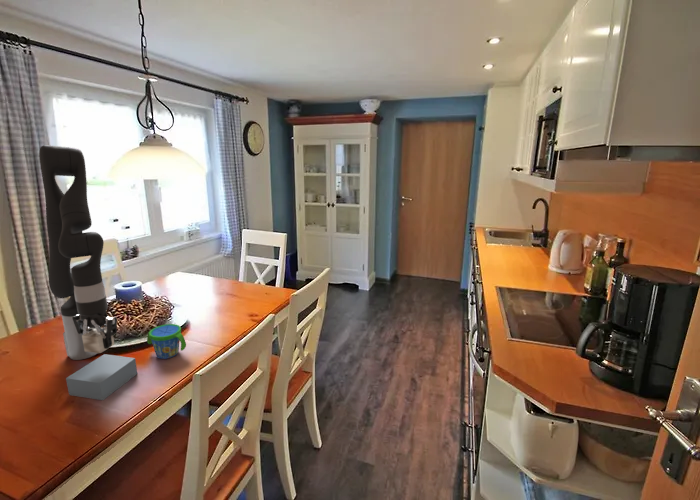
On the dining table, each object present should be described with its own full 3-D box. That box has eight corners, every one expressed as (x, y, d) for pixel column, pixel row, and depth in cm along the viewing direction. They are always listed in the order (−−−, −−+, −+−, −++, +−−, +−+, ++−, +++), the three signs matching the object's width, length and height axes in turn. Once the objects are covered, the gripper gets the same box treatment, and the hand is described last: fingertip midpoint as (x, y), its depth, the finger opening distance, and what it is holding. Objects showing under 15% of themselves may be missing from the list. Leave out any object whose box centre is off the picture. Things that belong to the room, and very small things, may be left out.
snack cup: (194, 352, 134) (192, 328, 131) (171, 366, 124) (168, 341, 122) (164, 343, 139) (161, 320, 136) (140, 356, 130) (137, 332, 127)
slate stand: (69, 395, 108) (65, 378, 106) (106, 369, 121) (104, 354, 120) (102, 400, 106) (99, 383, 105) (137, 373, 119) (135, 358, 118)
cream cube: (84, 351, 108) (81, 335, 107) (99, 342, 114) (97, 327, 112) (100, 353, 107) (97, 337, 106) (114, 344, 113) (112, 329, 111)
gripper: (121, 294, 109) (128, 342, 113) (81, 290, 111) (90, 338, 115) (101, 303, 101) (109, 355, 106) (58, 299, 104) (69, 350, 108)
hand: (99, 346), depth 110 cm, fingers closed on cream cube, 5 cm apart
